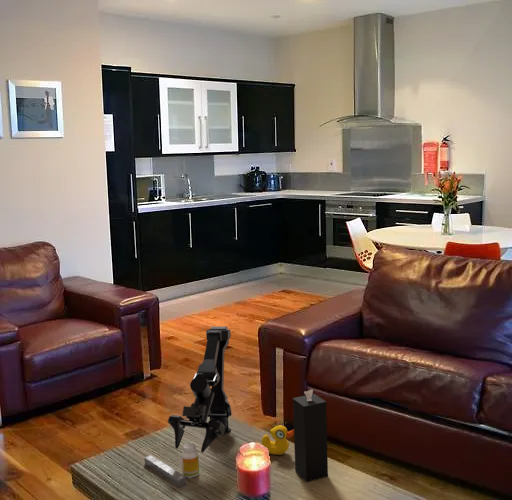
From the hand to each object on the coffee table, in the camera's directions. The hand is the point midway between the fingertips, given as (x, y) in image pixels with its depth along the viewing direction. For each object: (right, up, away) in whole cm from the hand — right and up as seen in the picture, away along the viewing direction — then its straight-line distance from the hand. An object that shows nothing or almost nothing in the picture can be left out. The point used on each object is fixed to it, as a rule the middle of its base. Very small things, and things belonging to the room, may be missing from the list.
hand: (189, 450), depth 202 cm
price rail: (-8, -8, +2) cm, 12 cm away
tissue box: (+39, -7, -2) cm, 40 cm away
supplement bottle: (0, -8, +1) cm, 8 cm away
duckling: (+29, -5, +13) cm, 32 cm away
